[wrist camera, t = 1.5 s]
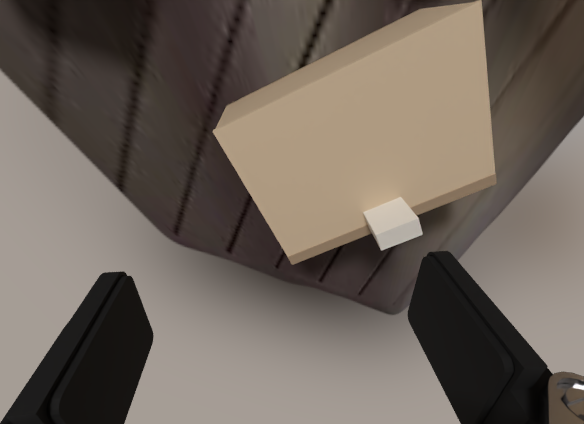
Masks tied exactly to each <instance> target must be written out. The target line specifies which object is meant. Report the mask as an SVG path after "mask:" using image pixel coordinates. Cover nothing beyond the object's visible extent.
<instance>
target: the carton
mask: <svg viewBox="0 0 584 424" xmlns="http://www.w3.org/2000/svg"><path fill="white" fill-rule="evenodd" d="M471 3H473V2H471ZM471 3H464V4H456V5H448V6H440V7H433V8H425V9H419V10H417V11H415V12H413V13H411V14H409V15H407V16H405V17H403V18H401V19H399V20H397V21H395V22H393V23H391V24H389V25H387V26H385V27H383V28H381V29H379V30H377V31H375V32H373V33H371V34H369V35H367V36H365V37H363V38H361V39H359V40H357V41H355V42H353V43H351V44H349V45H347V46H345V47H343V48H341V49H339V50H337V51H335V52H333V53H331V54H329V55H327V56H325V57H323V58H321V59H319V60H317V61H315V62H313V63H311V64H309V65H307V66H305V67H303V68H301V69H299V70H297V71H295V72H293V73H291V74H289V75H287V76H285V77H283V78H281V79H279V80H277V81H275V82H273V83H271V84H269V85H267V86H265V87H263V88H261V89H259V90H257V91H255V92H253V93H251V94H249V95H247V96H245V97H243V98H241V99H239V100H237V101H235V102H233V103H231V104H229V105H227V106H226V108H225V110H224V112H223V114H222V116H221V119H220V121H219V123H218V125H217V127H216V128H218V127H220V126H222V125H224V124H226V123H228V122H230V121H232V120H234V119H236V118H238V117H240V116H243V115H245V114H247V113H249V112H251V111H253V110H255V109H257V108H259V107H261V106H263V105H265V104H267V103H269V102H271V101H273V100H275V99H277V98H279V97H281V96H283V95H285V94H287V93H289V92H292V91H294V90H296V89H298V88H300V87H302V86H304V85H306V84H308V83H310V82H312V81H314V80H316V79H318V78H320V77H322V76H324V75H326V74H328V73H330V72H332V71H334V70H336V69H338V68H340V67H343V66H345V65H347V64H349V63H351V62H353V61H355V60H357V59H359V58H361V57H363V56H365V55H367V54H369V53H371V52H373V51H375V50H377V49H379V48H381V47H383V46H385V45H387V44H389V43H391V42H394V41H396V40H398V39H400V38H402V37H404V36H406V35H408V34H410V33H412V32H414V31H416V30H418V29H420V28H422V27H424V26H426V25H428V24H430V23H432V22H434V21H436V20H438V19H440V18H443V17H445V16H447V15H449V14H451V13H453V12H455V11H457V10H459V9H461V8H463V7H465V6H467V5H469V4H471Z"/></svg>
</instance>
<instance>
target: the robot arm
mask: <svg viewBox="0 0 584 424" xmlns="http://www.w3.org/2000/svg"><path fill="white" fill-rule="evenodd" d="M408 320H409V322H410V325H411V327H412V329H413V331H414V333H415V334H416V336H417V338H418V340H419V342H420V344H421V346H422V348H423V350H424V352H425V354H426V356H427V358H428V360H429V362H430V364H431V366H432V368H433V370H434V372H435V374H436V376H437V378H438V380H439V381H440V383H441V386H442V388H443V389H444V391H445V393H446V395H447V397H448V399H449V401H450V403H451V405H452V407H453V409H454V411H455V413H456V415H457V417H458V419H459V421H460V423H461V424H584V376H581V375H578V374H575V373H570V372H558V373H554V374H552V373H551V372H550V370H549V369H548V368H547V365H546V364H545V362H544V361H543V360H542V359H541V358H540V357H539V355H538V354H537V353H536V352H535V351H534V350H533V349H532V347H531V346H530V345H529V344H528V343H527V341H526V340H525V339H524V338H523V337H522V336H521V334H520V333H519V332H518V331H517V330H516V329H515V327H514V326H513V325H512V324H511V323H510V322H509V321H508V319H507V318H506V317H505V316H504V315H503V313H502V312H501V311H500V310H499V309H498V308H497V306H496V305H495V304H494V303H493V302H492V301H491V299H490V298H489V297H488V296H487V295H486V294H485V293H484V291H483V290H482V289H481V288H480V287H479V286H478V284H477V283H476V282H475V281H474V280H473V279H472V277H471V276H470V275H469V274H468V273H467V271H465V269H464V268H463V267H462V266H461V265H460V263H459V262H458V261H457V260H456V259H455V257H454V256H453V255H452V254H451V253H450V252H448V251H439V252H429V253H428V254H427V257H424V258H423V259H422V262H421V266H420V270H419V273H418V277H417V280H416V284H415V288H414V291H413V295H412V299H411V302H410V306H409V310H408ZM152 342H153V331H152V328H151V326H150V323H149V320H148V318H147V315H146V312H145V310H144V307H143V304H142V302H141V299H140V297H139V294H138V291H137V288H136V286H135V283H134V281H133V278H132V277H131V276H127V275H126V273H125V272H108V273H103V274H101V275H100V276H99V278H98V279H97V281H96V282H95V284H94V285H93V287H92V288H91V290H90V291H89V293H88V295H87V296H86V297H85V299H84V301H83V302H82V303H81V305H80V306H79V308H78V309H77V311H76V312H75V314H74V315H73V317H72V318H71V320H70V321H69V323H68V324H67V325H66V326H65V327H64V329H63V330H62V332H61V333H60V335H59V336H58V338H57V339H56V341H55V342H54V344H53V345H52V347H51V348H50V350H49V351H48V353H47V354H46V356H45V357H44V359H43V360H42V362H41V363H40V365H39V366H38V368H37V369H36V371H35V372H34V374H33V375H32V377H31V378H30V379H29V381H28V383H27V384H26V386H25V387H24V389H23V390H22V391H21V393H20V394H19V396H18V398H17V399H16V401H15V402H14V403H13V405H12V407H11V408H10V409H9V411H8V412H7V414H6V415H5V417H4V418H3V420H2V421H1V423H0V424H124V422H125V420H126V417H127V414H128V411H129V408H130V405H131V402H132V400H133V397H134V394H135V391H136V388H137V386H138V382H139V380H140V377H141V374H142V371H143V368H144V366H145V363H146V360H147V357H148V354H149V351H150V349H151V346H152Z"/></svg>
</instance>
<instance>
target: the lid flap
mask: <svg viewBox="0 0 584 424" xmlns="http://www.w3.org/2000/svg"><path fill="white" fill-rule="evenodd" d="M213 133H214V135H215V136H216V138H217V140H218V141H219V143H220V145H221V146H222V148H223V150H224V151H225V153H226V155H227V156H228V158H229V160H230V161H231V163H232V165H233V166H234V168H235V170H236V171H237V173H238V175H239V176H240V178H241V180H242V181H243V183H244V185H245V186H246V188H247V190H248V191H249V193H250V195H251V196H252V198H253V200H254V201H255V203H256V205H257V206H258V208H259V210H260V211H261V213H262V215H263V216H264V218H265V220H266V221H267V223H268V225H269V226H270V228H271V230H272V231H273V233H274V235H275V236H276V238H277V240H278V241H279V243H280V245H281V246H282V248H283V250H284V251H285V253H286V255H287V256H288V259H289V260H290V262H291V264H292V265H293V264H296V263H298V262H301V261H303V260H306V259H308V258H311V257H313V256H316V255H318V254H321V253H323V252H326V251H328V250H331V249H334V248H336V247H339V246H341V245H344V244H346V243H349V242H351V241H354V240H356V239H359V238H361V237H364V236H366V235H369V234H371V233H372V234H373V236H374V238H375V240H376V242H377V244H378V246H379V247H380V249H381V251H382V250H384V249H387V248H389V247H392V246H395V245H397V244H400V243H402V242H405V241H408V240H410V239H413V238H415V237H418V236H421V235H423V233H422V229H421V226H420V222H419V218H418V217H417V215H419V214H422V213H424V212H427V211H429V210H432V209H434V208H437V207H439V206H442V205H444V204H447V203H449V202H452V201H454V200H457V199H460V198H462V197H465V196H467V195H470V194H472V193H475V192H477V191H480V190H482V189H485V188H487V187H490V186H492V185H495V184H497V182H496V174H495V165H494V153H493V140H492V127H491V115H490V102H489V89H488V77H487V64H486V52H485V39H484V26H483V14H482V1H481V0H479V1H475V2H473V3H471V4H469V5H467V6H465V7H463V8H461V9H459V10H457V11H455V12H453V13H451V14H449V15H447V16H445V17H443V18H440V19H438V20H436V21H434V22H432V23H430V24H428V25H426V26H424V27H422V28H420V29H418V30H416V31H414V32H412V33H410V34H408V35H406V36H404V37H402V38H400V39H398V40H396V41H394V42H391V43H389V44H387V45H385V46H383V47H381V48H379V49H377V50H375V51H373V52H371V53H369V54H367V55H365V56H363V57H361V58H359V59H357V60H355V61H353V62H351V63H349V64H347V65H345V66H343V67H340V68H338V69H336V70H334V71H332V72H330V73H328V74H326V75H324V76H322V77H320V78H318V79H316V80H314V81H312V82H310V83H308V84H306V85H304V86H302V87H300V88H298V89H296V90H294V91H292V92H289V93H287V94H285V95H283V96H281V97H279V98H277V99H275V100H273V101H271V102H269V103H267V104H265V105H263V106H261V107H259V108H257V109H255V110H253V111H251V112H249V113H247V114H245V115H243V116H240V117H238V118H236V119H234V120H232V121H230V122H228V123H226V124H224V125H222V126H220V127H218V128H216V129H214V130H213Z"/></svg>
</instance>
